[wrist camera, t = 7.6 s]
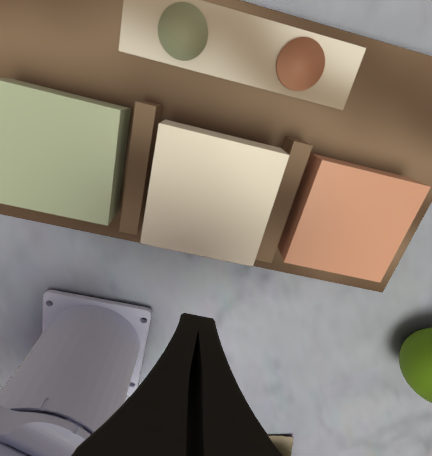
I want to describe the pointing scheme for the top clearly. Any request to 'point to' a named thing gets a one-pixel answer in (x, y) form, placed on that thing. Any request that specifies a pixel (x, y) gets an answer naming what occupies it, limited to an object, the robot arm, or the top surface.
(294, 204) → the terracotta key
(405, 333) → the top surface
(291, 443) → the condiment
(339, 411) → the top surface
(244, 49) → the keypad board
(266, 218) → the cream key
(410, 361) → the snail figurine
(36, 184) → the green key
